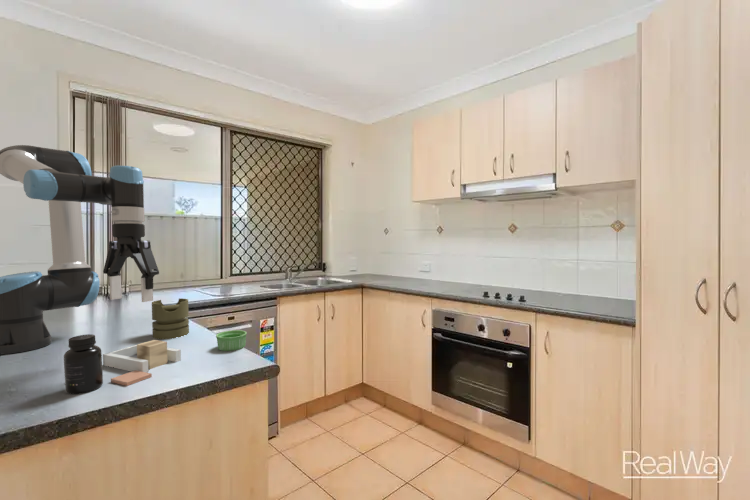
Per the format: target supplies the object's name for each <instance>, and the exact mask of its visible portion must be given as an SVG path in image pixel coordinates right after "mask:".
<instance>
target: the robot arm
mask: <svg viewBox="0 0 750 500" xmlns="http://www.w3.org/2000/svg"><path fill="white" fill-rule="evenodd" d="M92 174H93V173H92V168H91V165H90V163H89V160H88V159H87V158H86V157H85V156H84V155H83V154H81V153H78V152H73V151H69V150H61V149H57V148H56V149H54V148H48V147H40V146H34V145H30V144H29V145H27V144H17V145H10V146H7V147H4V148H1V149H0V175H1V176H3V177H4V178H6V179H9V180H10V181H15V182H20V183H21V184H23V191H24V193H25V195H26V197H28V198H29V199H32V200H40V201H41V200H42V201H45V202H47V201H48V209H49V210H48V212H49V227H50V240H51V252H52V253H51V254H52V264H51V266H50V267H49V268H47V274H46V275H45V274H42V272H41V271H37V270H35V271H27V272H17V273H12V274H7V275H2V276H0V355H8V354H9V355H10V354H17V353H22V352H29V351H33V350H37V349H41V348H45V347H46V346H49V345H50V344H51V343H52V335H51V334H50V333H51V332H50V331H49V329H48V327H47V325H46V323H45V321H44V312H45V311H53V310H62V309H68V308H69V309H70V308H79V307H84V306H87V305H91V304H93V302H95V301H96V299H97V297H98V295H99V291H100V286H101V284H100V278H99V274H98V273H97V272H95V271H92V266H91V265H89V264H88V263H86V257H85V255H86V254H85V241H84V228H83V213H82V203H91V204H99V205H103V206H105V205H106V206H107V205H108V206H111V211H110V212H111V222H113V224H112V225H111V230H112V231H111V232H112V233H111V235H112V237H113V238H117V239H116V240H110V241H108V252H107V255H106V259H105V262H104V267H103V270H102V272H103V274H105V275H106V276H108V279H109V280H108V281H109V284H108V285H109V299H110V301H113V300H118V299H122V298H123V295H122V293H123V292H122V276H121V275H122V274H121V273H120V272H121V271H122V268H123V266H124V265H125V262H126V260H127V258H130V259H133V260H134V262H135V264H136V266H137V267H138V269H139V271H140V273H141V277H140V289H141V291H140V292H141V303H147V302H154V277H155V276H156V275H157V276H158V275H160V270H159V267H158V265H157V262H156V260H155V257H154V254H153V250H152V247H151V241H150V240H142V238H144V237H145V236H146V230H145V229H146V227H145V225H144V222H145V221H146V219H145V205H144V204H145V201H144V198H145V197H144V196H145V194H144V182H145V181H144V178H143V171H142V170H141V168H139V167H136V166H130V165H113V166H111V167H110V168H109V175H108V177H106V176H98V175H97V176H96V175H92Z"/></svg>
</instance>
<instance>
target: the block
mask: <svg viewBox="0 0 750 500" xmlns="http://www.w3.org/2000/svg"><path fill="white" fill-rule="evenodd" d="M136 345H137V358H139V359H144V360H148V370H152V369H155V368H158V367H160V366H163V365H166V364H168V360H167V348H168V342H167V341H163V340H160V339H152V340H148V341H144V342H141V343H138V344H136Z"/></svg>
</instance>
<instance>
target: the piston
mask: <svg viewBox="0 0 750 500" xmlns="http://www.w3.org/2000/svg"><path fill="white" fill-rule="evenodd" d="M189 313H190V312H189V299H188V298H178V301H177V303H176V304H169V305H164V304H163V302H162V300H161V299H160V300H159V299H157V300H153V301H151V319H152V320H153V322H151V325H152V326H151V327H152V330H151V331H152V338H153V340H171V339H172V338H173V339H177V338H176V337H178V338H182V337H181V336H183V337H185V336H184V335H186V336H188V335H189V334H188V333H190V320H189V315H190V314H189ZM187 334H188V335H187Z"/></svg>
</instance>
